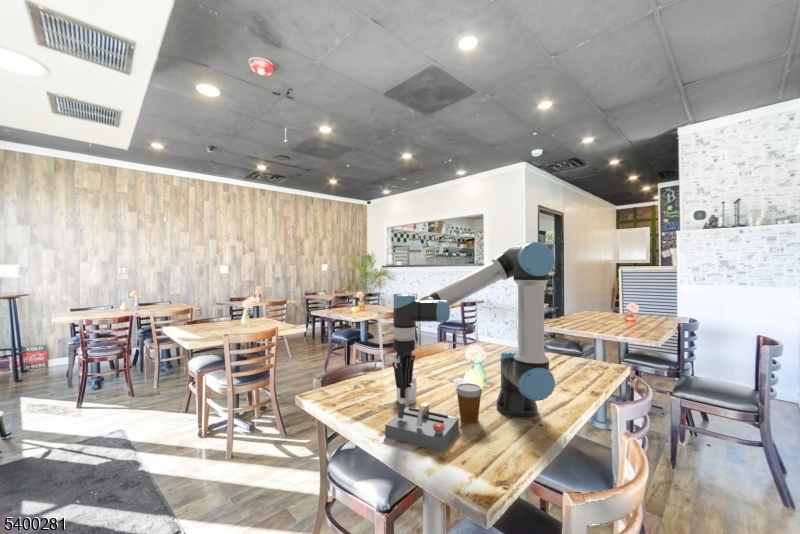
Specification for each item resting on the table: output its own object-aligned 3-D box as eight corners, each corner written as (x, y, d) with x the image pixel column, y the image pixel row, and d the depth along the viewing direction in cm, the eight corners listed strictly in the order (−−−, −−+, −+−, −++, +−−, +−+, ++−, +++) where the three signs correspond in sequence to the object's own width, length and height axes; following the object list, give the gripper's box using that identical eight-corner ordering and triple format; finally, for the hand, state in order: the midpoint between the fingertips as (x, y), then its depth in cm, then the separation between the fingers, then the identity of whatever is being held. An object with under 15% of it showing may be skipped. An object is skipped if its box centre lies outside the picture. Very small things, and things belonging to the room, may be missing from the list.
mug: (423, 406, 135) (423, 381, 135) (404, 409, 132) (404, 383, 132) (411, 396, 146) (411, 372, 146) (394, 398, 143) (393, 374, 143)
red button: (446, 432, 105) (446, 424, 105) (442, 437, 102) (442, 429, 102) (435, 430, 106) (435, 421, 106) (431, 434, 103) (431, 426, 103)
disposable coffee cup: (477, 428, 116) (477, 393, 116) (451, 421, 121) (451, 388, 121) (485, 418, 124) (485, 385, 124) (461, 412, 129) (461, 381, 129)
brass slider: (429, 413, 118) (429, 403, 118) (425, 416, 115) (425, 406, 115) (424, 412, 119) (423, 402, 119) (420, 415, 116) (420, 405, 116)
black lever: (404, 418, 114) (407, 398, 116) (401, 418, 112) (404, 398, 114) (399, 416, 115) (401, 397, 117) (396, 417, 113) (398, 397, 115)
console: (458, 429, 115) (458, 416, 115) (442, 452, 101) (442, 436, 101) (407, 417, 124) (407, 405, 124) (385, 436, 110) (385, 422, 110)
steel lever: (423, 427, 108) (426, 405, 110) (420, 426, 106) (424, 405, 109) (417, 425, 109) (420, 404, 111) (414, 425, 107) (418, 403, 110)
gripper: (403, 334, 124) (403, 397, 124) (385, 341, 112) (385, 410, 112) (421, 336, 120) (421, 401, 120) (405, 343, 109) (405, 415, 109)
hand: (404, 406), depth 116 cm, fingers closed
